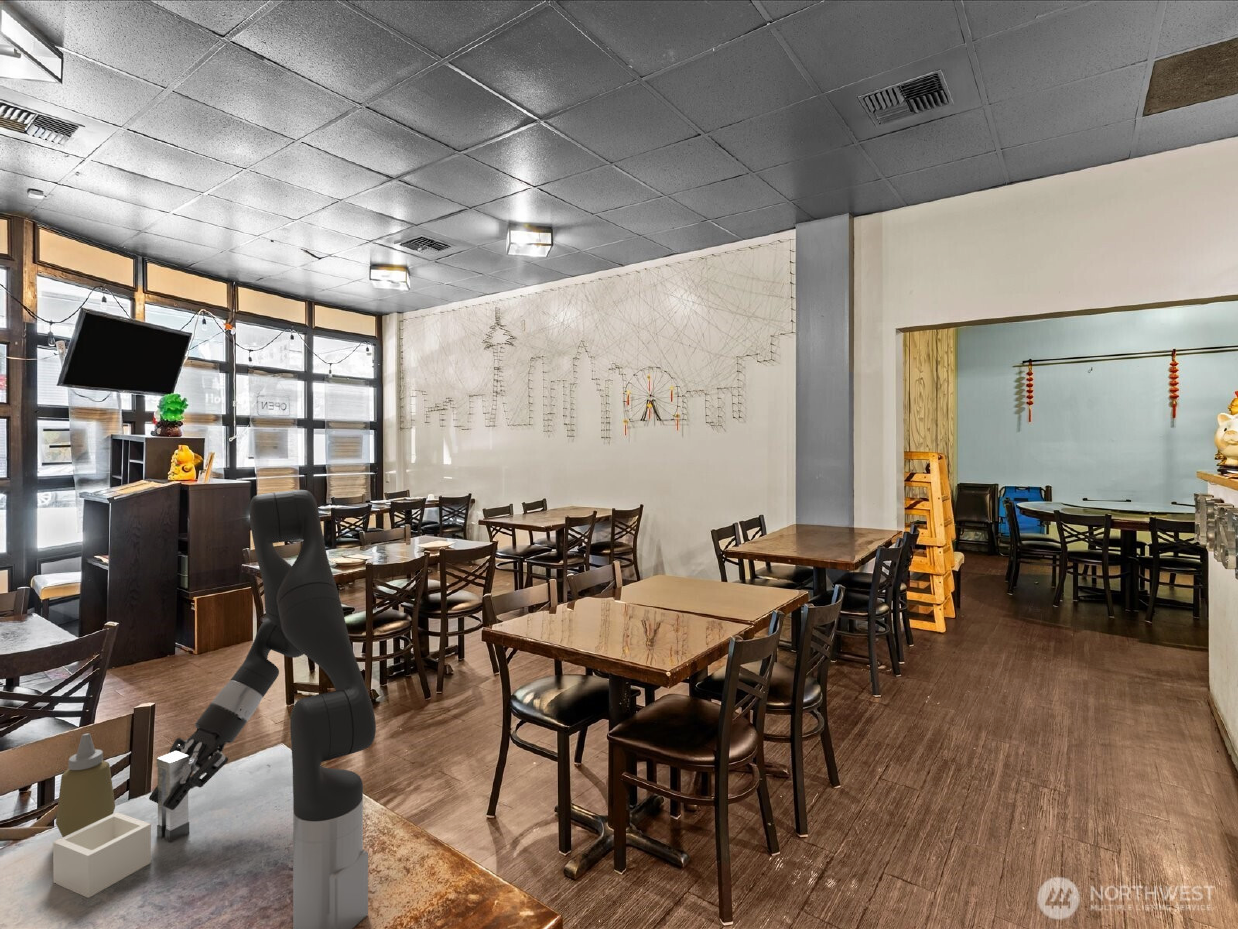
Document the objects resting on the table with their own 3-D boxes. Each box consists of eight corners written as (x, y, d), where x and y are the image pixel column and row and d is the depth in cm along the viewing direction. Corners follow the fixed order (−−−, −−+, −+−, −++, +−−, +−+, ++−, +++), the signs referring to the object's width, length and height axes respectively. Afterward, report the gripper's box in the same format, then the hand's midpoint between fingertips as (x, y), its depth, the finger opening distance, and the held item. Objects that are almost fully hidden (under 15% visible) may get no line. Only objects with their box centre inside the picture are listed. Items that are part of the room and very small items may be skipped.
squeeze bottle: (115, 817, 117) (114, 721, 117) (115, 837, 111) (115, 736, 111) (57, 833, 112) (56, 733, 112) (54, 855, 106) (53, 749, 106)
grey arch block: (189, 833, 112) (188, 755, 112) (169, 842, 110) (169, 763, 109) (176, 826, 114) (176, 750, 114) (157, 836, 111) (156, 758, 111)
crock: (150, 862, 104) (150, 824, 104) (88, 898, 96) (88, 856, 96) (116, 849, 108) (116, 812, 108) (53, 882, 99) (53, 842, 99)
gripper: (194, 695, 122) (121, 787, 111) (239, 709, 115) (167, 808, 104) (221, 712, 126) (154, 802, 116) (266, 727, 120) (200, 823, 109)
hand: (161, 804), depth 110 cm, fingers closed on grey arch block, 3 cm apart
